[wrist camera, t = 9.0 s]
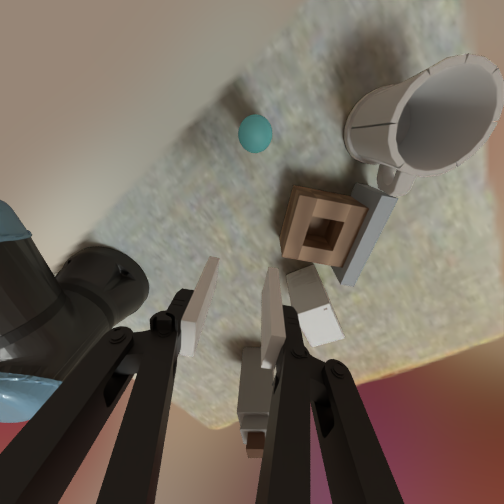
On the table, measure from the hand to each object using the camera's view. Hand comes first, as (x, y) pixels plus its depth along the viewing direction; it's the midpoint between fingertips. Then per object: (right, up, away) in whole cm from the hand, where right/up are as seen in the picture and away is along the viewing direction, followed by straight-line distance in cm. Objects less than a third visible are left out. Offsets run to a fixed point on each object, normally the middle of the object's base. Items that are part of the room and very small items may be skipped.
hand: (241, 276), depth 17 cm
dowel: (+2, +18, +13) cm, 22 cm away
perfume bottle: (+2, -23, +35) cm, 42 cm away
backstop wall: (+16, +6, +18) cm, 25 cm away
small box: (+11, -4, +24) cm, 27 cm away
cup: (+18, +18, +12) cm, 28 cm away
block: (+11, +7, +18) cm, 22 cm away
